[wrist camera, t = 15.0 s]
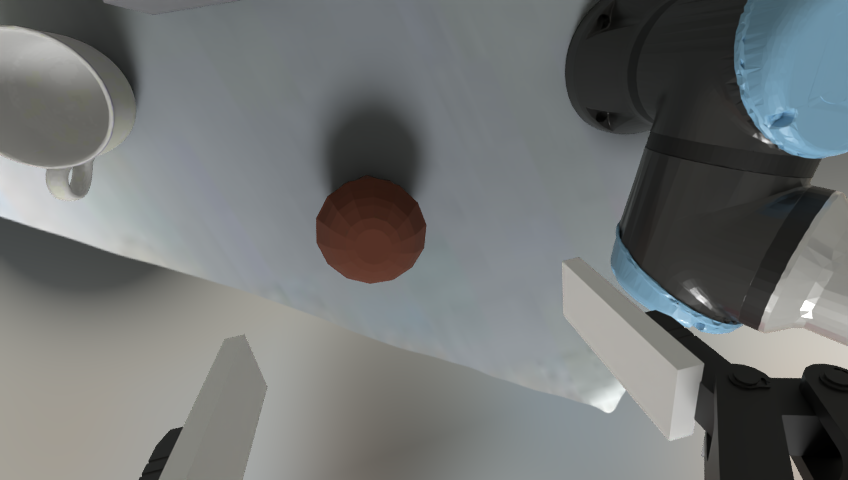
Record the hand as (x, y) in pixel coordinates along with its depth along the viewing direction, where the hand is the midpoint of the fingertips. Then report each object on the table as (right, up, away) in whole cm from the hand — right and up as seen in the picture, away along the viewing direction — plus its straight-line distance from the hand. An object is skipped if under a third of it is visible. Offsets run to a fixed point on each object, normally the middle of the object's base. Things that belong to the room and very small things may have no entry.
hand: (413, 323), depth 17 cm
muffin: (-6, +7, +31) cm, 33 cm away
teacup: (-32, +16, +23) cm, 42 cm away
